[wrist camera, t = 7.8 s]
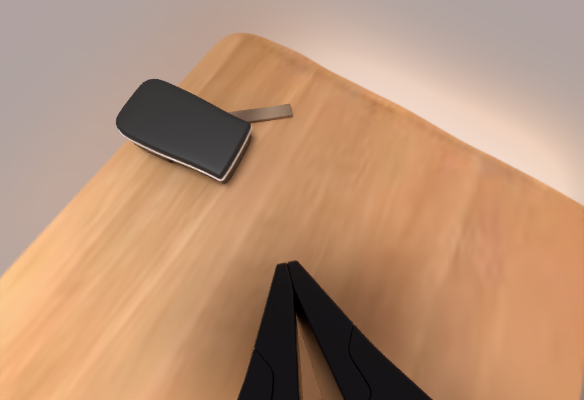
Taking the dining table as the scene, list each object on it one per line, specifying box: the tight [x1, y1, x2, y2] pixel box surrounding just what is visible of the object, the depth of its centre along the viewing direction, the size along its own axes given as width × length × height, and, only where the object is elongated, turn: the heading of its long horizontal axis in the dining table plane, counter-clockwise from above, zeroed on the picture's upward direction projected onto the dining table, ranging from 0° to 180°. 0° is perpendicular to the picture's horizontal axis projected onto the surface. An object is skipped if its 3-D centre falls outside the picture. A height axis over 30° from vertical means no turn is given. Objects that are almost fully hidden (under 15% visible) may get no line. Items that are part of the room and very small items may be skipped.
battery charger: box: [116, 79, 252, 183], centre depth 23 cm, size 7×4×11 cm
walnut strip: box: [228, 104, 293, 123], centre depth 26 cm, size 10×2×1 cm, turn 102°
